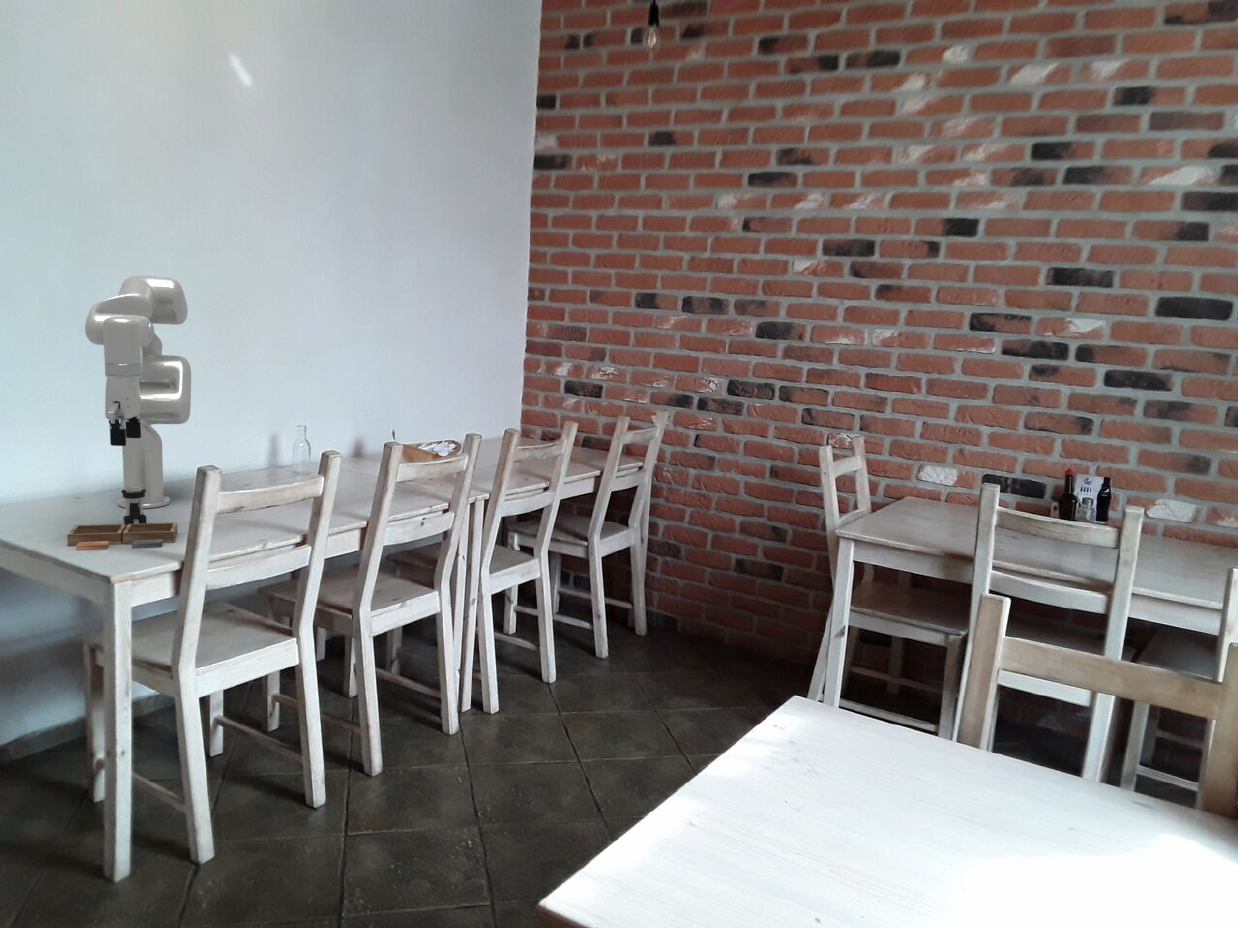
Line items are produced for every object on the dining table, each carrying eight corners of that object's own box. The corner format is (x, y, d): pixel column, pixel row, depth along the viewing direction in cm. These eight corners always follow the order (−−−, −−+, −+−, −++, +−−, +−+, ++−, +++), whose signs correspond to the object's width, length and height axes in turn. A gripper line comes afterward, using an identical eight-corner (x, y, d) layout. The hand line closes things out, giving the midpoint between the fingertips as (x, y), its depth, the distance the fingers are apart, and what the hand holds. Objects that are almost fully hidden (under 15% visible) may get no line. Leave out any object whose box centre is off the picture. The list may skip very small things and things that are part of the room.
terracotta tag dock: (75, 535, 206) (74, 525, 205) (126, 534, 210) (126, 523, 209) (64, 550, 195) (63, 539, 194) (118, 548, 199) (118, 537, 198)
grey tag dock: (128, 534, 210) (127, 523, 210) (177, 532, 214) (177, 522, 213) (120, 548, 199) (120, 537, 198) (172, 546, 203) (172, 535, 202)
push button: (120, 530, 213) (118, 490, 211) (113, 525, 216) (112, 486, 215) (149, 526, 217) (148, 487, 216) (143, 522, 221) (141, 483, 219)
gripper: (120, 365, 213) (122, 434, 217) (90, 373, 196) (94, 448, 200) (153, 367, 215) (155, 435, 218) (127, 375, 198) (129, 449, 201)
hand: (126, 441), depth 209 cm, fingers open, 9 cm apart
